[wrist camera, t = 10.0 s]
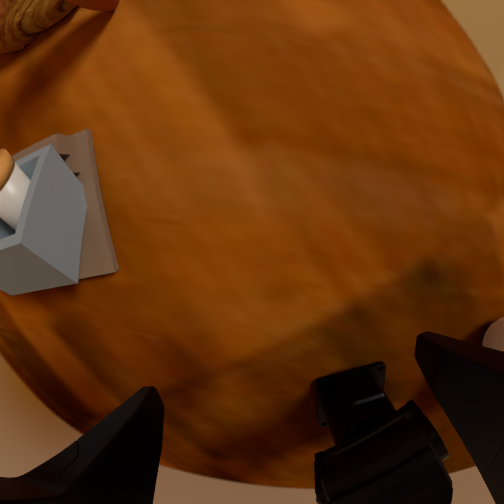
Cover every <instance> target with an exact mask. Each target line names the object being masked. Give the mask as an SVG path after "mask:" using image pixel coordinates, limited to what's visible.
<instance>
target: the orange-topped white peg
mask: <svg viewBox="0 0 504 504" xmlns="http://www.w3.org/2000/svg"><path fill="white" fill-rule="evenodd" d="M30 181H31V180H30V179H29V178H28V177H27V176H26V174H25V173H24V172H23V171H22V170H21V169H20V167H19V166H18V165H17V164H16V163H15V161H14V159H13V158H12V157H11V155H10V154H9V153H8V152H7V150H6V149H0V217H1V218H2V219H3V220H4V221H5V222H6V223H7V224H8V225H10V226H11V227H12V228H13V229H14V230H15V231H16V228H17V224H18V220H19V217H20V213H21V209H22V206H23V203H24V199H25V196H26V193H27V190H28V187H29V184H30Z"/></svg>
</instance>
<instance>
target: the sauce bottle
mask: <svg viewBox="0 0 504 504" xmlns="http://www.w3.org/2000/svg"><path fill="white" fill-rule="evenodd" d="M482 346H484V347H488V348H492V349H496V350H500V351H504V317H503V318H501V319H499V320H498V321H496V322H494V323H492V324H491V325H490V326H489V328H488V329H487V331H486V333H485V335H484V338H483V342H482Z"/></svg>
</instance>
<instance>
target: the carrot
mask: <svg viewBox="0 0 504 504" xmlns="http://www.w3.org/2000/svg"><path fill="white" fill-rule="evenodd" d="M66 1H68V2H70V3H72V4H75V5H77V6H79V7H81V8H86V9H90V10H97V11H112V10H114V9H116V7H117V6H118V4H119V0H66Z"/></svg>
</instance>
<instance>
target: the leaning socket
mask: <svg viewBox="0 0 504 504" xmlns="http://www.w3.org/2000/svg"><path fill="white" fill-rule="evenodd" d="M11 157H12V158H13V159H14V161H15V163H16V164H17V165H18V166H19V167H20V169H21V170H22V171H23V172H24V173H25V174H26V176H27V177H28V178H29V179H30V180H31V181H30V184H29V187H28V190H27V193H26V196H25V199H24V203H23V206H22V209H21V213H20V217H19V220H18V224H17V228H16V231H15V230H14V229H13V228H12V227H11V226H10V225H8V224H7V223H6V222H5V221H4V220H3V219H2V218H1V217H0V290H2V291H4V292H6V293H7V294H9V295H17V294H22V293H27V292H33V291H38V290H44V289H49V288H55V287H60V286H66V285H71V284H76V283H78V279H82V278H87V277H93V276H98V275H103V274H108V273H114V272H116V271H117V270H119V266H118V262H117V259H116V255H115V251H114V248H113V244H112V240H111V236H110V231H109V227H108V223H107V219H106V214H105V209H104V205H103V200H102V195H101V190H100V184H99V179H98V173H97V167H96V161H95V154H94V147H93V139H92V131H91V130H89V129H85V130H82V131H80V132H77V133H75V134H73V135H70V136H67V135H62V134H57V133H56V134H54V135H52V136H50V137H48V138H46V139H44V140H42V141H39V142H37V143H35V144H34V145H32V146H30V147H28V148H26V149H24V150H22V151H20V152H18V153H17V154H15V155H13V156H11Z"/></svg>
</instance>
